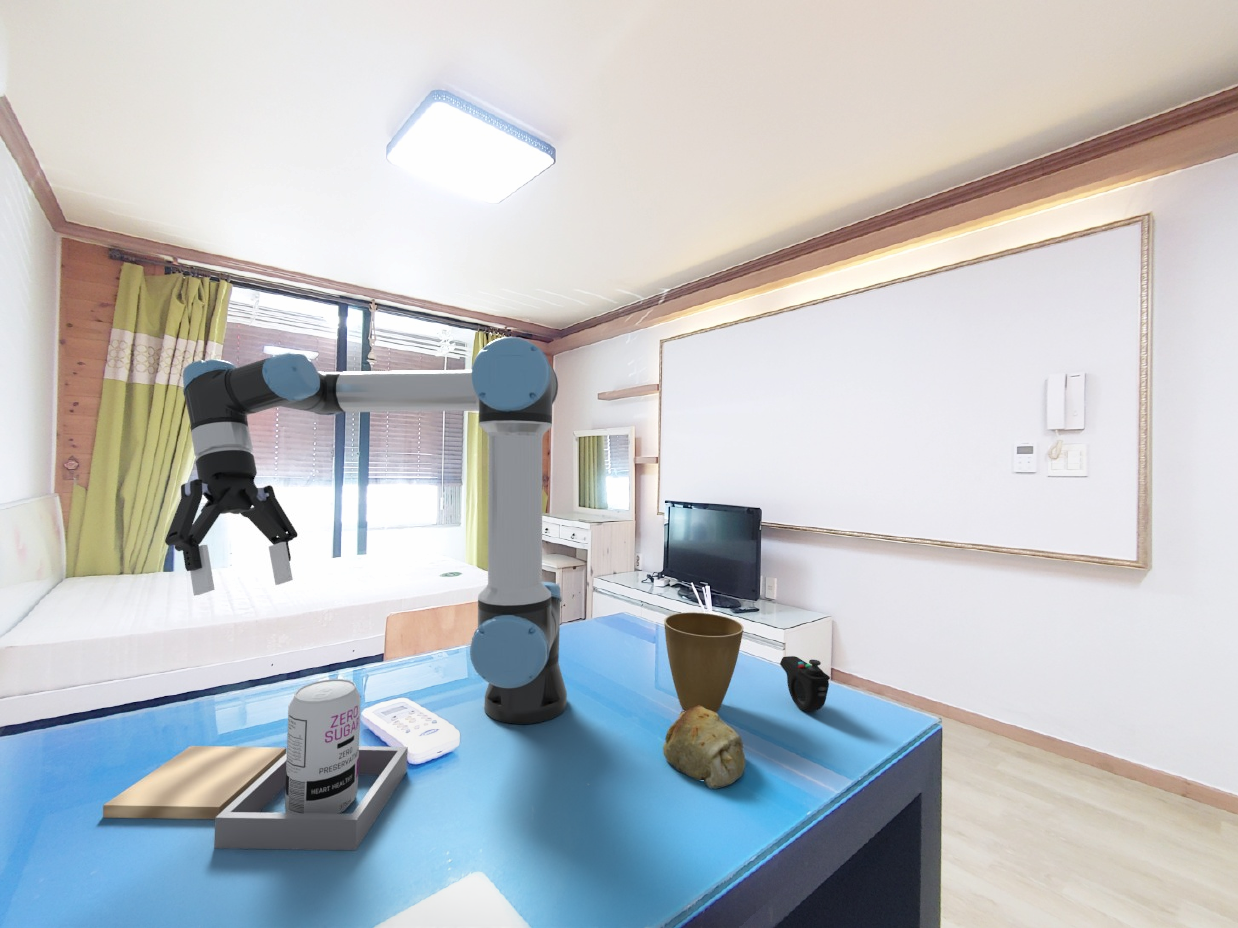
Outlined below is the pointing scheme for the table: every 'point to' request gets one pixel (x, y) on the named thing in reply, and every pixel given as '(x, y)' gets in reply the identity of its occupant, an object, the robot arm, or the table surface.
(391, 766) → the bin
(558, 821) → the table surface
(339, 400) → the robot arm
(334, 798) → the supplement can
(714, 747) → the pastry
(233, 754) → the pad
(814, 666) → the controller
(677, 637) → the plant pot
